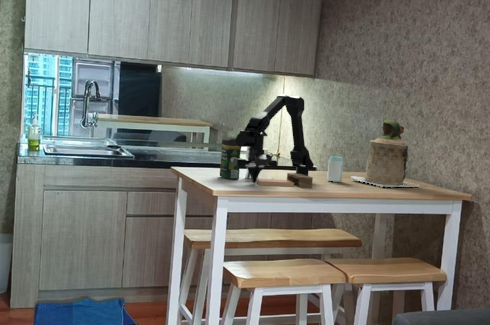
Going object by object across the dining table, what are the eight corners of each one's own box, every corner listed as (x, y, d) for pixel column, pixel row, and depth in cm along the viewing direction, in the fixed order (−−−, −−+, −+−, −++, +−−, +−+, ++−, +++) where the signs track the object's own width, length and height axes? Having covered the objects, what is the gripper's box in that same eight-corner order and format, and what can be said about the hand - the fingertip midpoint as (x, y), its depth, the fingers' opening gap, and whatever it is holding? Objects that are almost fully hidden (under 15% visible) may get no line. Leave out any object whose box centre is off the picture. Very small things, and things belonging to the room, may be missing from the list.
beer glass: (261, 179, 305) (264, 146, 304) (247, 179, 303) (249, 146, 302) (256, 177, 312) (259, 145, 310) (242, 176, 310) (244, 144, 308)
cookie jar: (382, 188, 307) (389, 119, 304) (348, 180, 328) (354, 115, 325) (421, 188, 320) (428, 121, 317) (386, 180, 341) (392, 118, 338)
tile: (255, 183, 294) (255, 178, 294) (288, 185, 297) (288, 180, 297) (259, 186, 286) (260, 181, 286) (293, 187, 289) (293, 182, 289)
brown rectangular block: (286, 182, 301) (287, 172, 300) (298, 182, 303) (299, 173, 303) (299, 187, 289) (300, 177, 288) (311, 187, 291) (312, 177, 291)
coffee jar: (217, 176, 304) (220, 135, 302) (233, 176, 307) (236, 136, 305) (224, 179, 295) (227, 137, 293) (241, 179, 298) (244, 138, 296)
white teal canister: (324, 181, 318) (326, 156, 317) (331, 180, 324) (333, 155, 323) (337, 183, 314) (339, 157, 313) (344, 182, 320) (346, 157, 319)
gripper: (243, 147, 275) (240, 185, 277) (284, 149, 282) (281, 185, 284) (233, 145, 286) (231, 181, 287) (273, 146, 293) (270, 181, 294)
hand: (253, 182), depth 288 cm, fingers closed
